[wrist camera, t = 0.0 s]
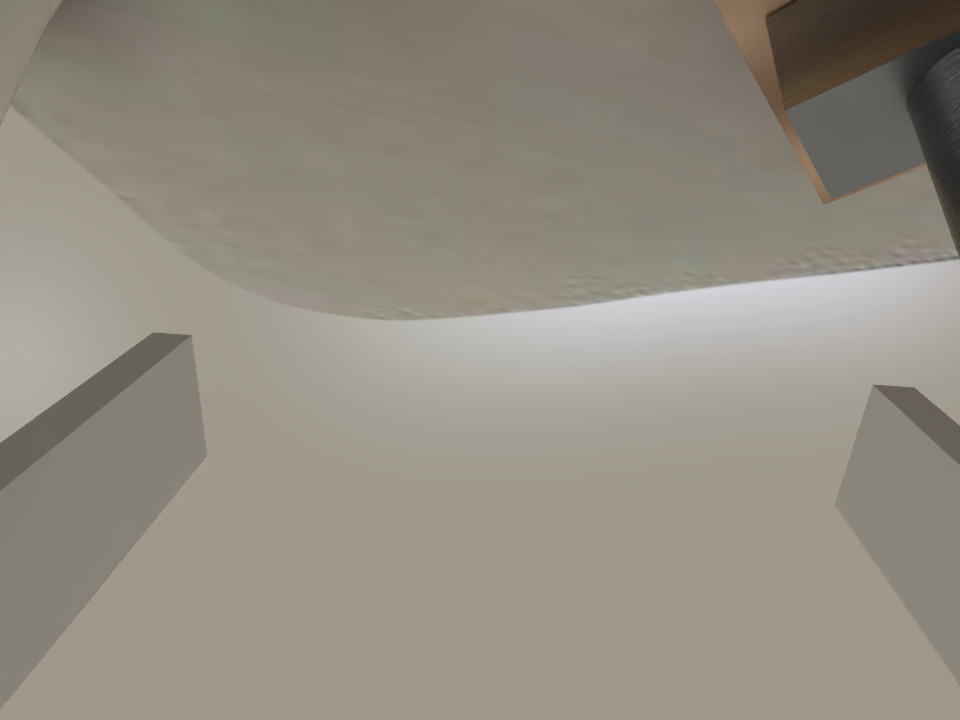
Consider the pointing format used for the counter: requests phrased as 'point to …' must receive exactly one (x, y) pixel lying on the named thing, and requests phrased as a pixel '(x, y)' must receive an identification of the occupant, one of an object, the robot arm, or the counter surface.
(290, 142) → the counter surface
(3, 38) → the drinking glass
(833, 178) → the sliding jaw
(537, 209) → the counter surface
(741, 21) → the press base
